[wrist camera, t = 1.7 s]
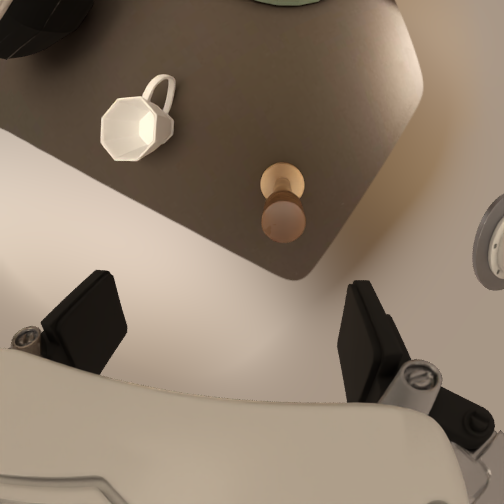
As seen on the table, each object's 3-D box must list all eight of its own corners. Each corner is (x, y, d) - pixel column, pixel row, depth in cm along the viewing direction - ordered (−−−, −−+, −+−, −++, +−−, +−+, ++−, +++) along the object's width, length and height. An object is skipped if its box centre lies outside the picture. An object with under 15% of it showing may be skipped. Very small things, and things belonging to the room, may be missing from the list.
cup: (126, 142, 32) (90, 148, 25) (158, 72, 29) (126, 60, 21) (170, 164, 33) (141, 174, 26) (206, 91, 29) (184, 80, 22)
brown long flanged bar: (303, 162, 32) (321, 186, 18) (303, 203, 34) (318, 256, 20) (260, 162, 32) (244, 186, 18) (261, 203, 34) (247, 256, 20)
